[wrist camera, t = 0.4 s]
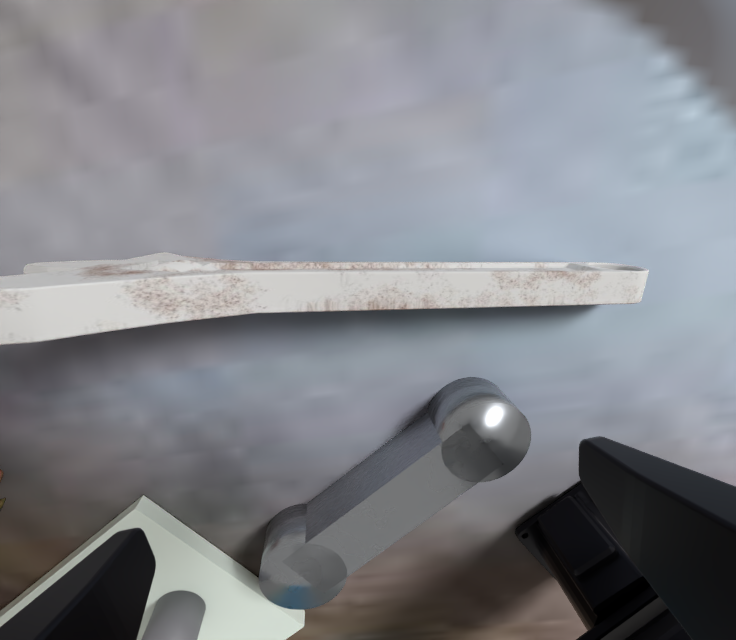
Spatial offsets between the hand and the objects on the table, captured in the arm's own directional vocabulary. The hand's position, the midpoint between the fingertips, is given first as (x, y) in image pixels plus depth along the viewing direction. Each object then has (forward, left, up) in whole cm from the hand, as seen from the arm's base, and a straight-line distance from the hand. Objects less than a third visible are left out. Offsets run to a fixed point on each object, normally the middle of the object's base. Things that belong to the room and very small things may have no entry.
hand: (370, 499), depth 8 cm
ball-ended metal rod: (-10, +5, -13) cm, 17 cm away
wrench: (+1, -2, -14) cm, 14 cm away
